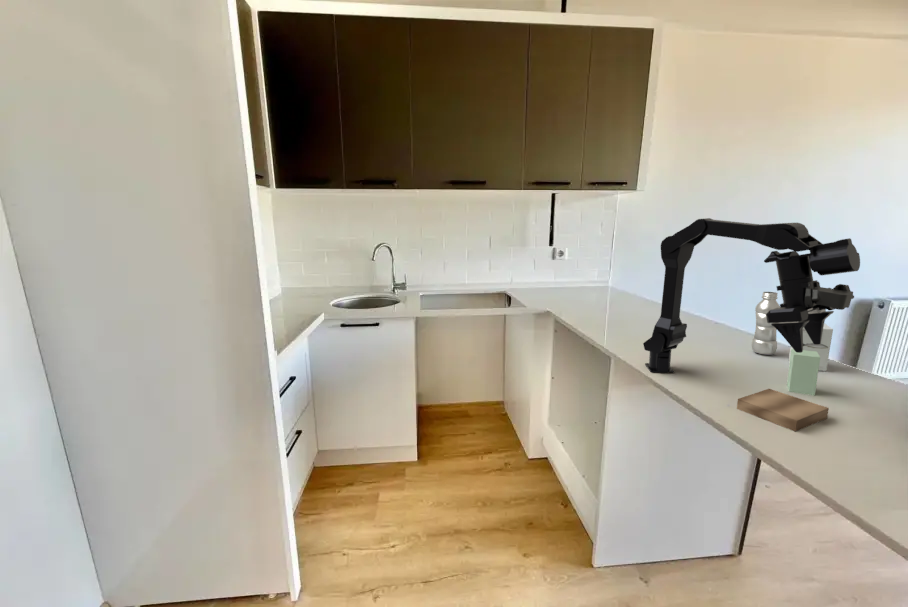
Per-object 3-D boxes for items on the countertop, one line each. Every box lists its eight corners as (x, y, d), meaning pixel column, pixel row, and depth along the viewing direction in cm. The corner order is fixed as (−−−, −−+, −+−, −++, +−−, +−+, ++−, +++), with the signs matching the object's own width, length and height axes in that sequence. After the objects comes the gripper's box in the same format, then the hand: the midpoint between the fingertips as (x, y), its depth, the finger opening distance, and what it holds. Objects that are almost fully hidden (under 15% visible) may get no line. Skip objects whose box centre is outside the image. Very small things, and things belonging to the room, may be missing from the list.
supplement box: (794, 368, 119) (799, 326, 116) (788, 360, 125) (793, 320, 123) (827, 372, 115) (833, 328, 113) (819, 363, 122) (825, 322, 119)
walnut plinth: (736, 408, 97) (737, 398, 96) (767, 398, 101) (769, 388, 101) (795, 431, 86) (796, 420, 85) (827, 418, 91) (828, 407, 90)
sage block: (788, 391, 104) (793, 354, 102) (786, 384, 108) (791, 348, 106) (814, 395, 102) (820, 357, 100) (811, 388, 106) (816, 351, 104)
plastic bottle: (765, 358, 128) (773, 295, 124) (745, 351, 134) (751, 291, 130) (781, 355, 130) (789, 293, 125) (760, 349, 136) (767, 290, 132)
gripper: (824, 277, 79) (839, 357, 79) (860, 268, 88) (873, 339, 88) (759, 285, 89) (772, 356, 89) (797, 276, 98) (809, 340, 98)
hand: (808, 348), depth 91 cm, fingers open, 9 cm apart
